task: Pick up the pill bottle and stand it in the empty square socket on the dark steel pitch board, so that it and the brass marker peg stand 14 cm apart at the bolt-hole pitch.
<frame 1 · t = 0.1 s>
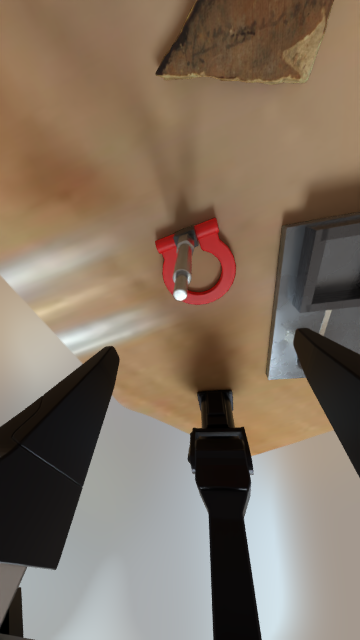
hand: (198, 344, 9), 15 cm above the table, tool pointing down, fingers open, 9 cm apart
tow hook: (197, 267, 22), on the table
pitch board: (320, 313, 24), on the table
shard: (253, 49, 13), on the table
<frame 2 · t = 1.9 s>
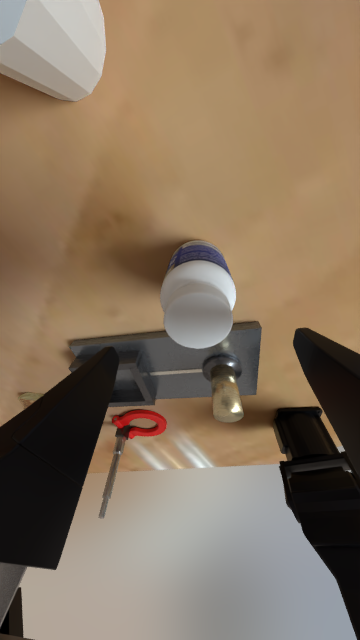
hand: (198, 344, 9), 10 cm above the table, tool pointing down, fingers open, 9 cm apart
tow hook: (142, 419, 36), on the table
pitch board: (169, 365, 26), on the table
shard: (58, 403, 35), on the table
shot glass: (58, 29, 11), on the table
pill bottle: (196, 268, 18), on the table
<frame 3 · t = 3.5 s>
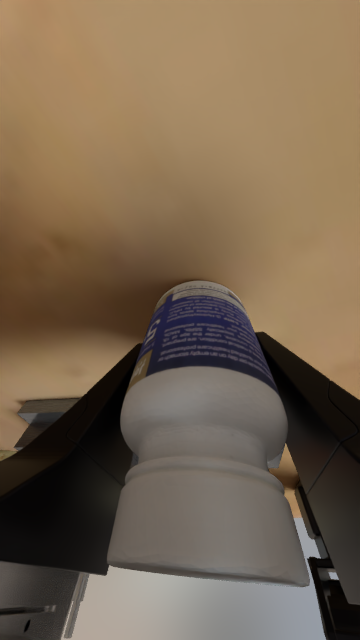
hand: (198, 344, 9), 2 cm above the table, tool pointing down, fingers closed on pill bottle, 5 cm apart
tow hook: (130, 475, 29), on the table
pitch board: (160, 430, 19), on the table
shard: (25, 456, 28), on the table
pill bottle: (198, 318, 11), on the table, touching gripper
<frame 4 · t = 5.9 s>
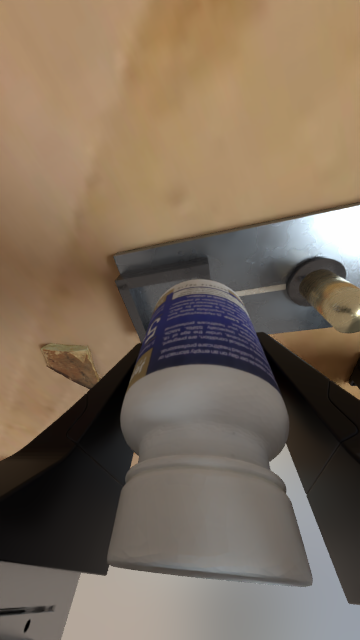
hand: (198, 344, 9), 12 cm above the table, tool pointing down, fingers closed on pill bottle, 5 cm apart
pitch board: (236, 288, 20), on the table
shard: (86, 360, 30), on the table
pill bottle: (198, 317, 11), point 10 cm above the table, touching gripper
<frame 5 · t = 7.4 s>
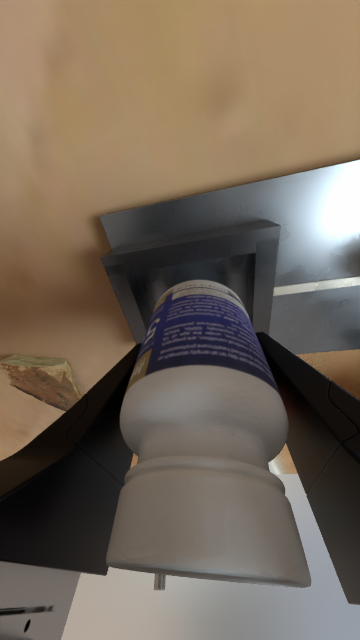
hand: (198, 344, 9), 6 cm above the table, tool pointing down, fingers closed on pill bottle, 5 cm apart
pitch board: (297, 279, 13), on the table
shard: (66, 377, 22), on the table
pill bottle: (197, 318, 11), point 3 cm above the table, touching gripper
when the fingers open (4 cm above the table, at t = 8.4 s): pill bottle drops 1 cm, resting on pitch board.
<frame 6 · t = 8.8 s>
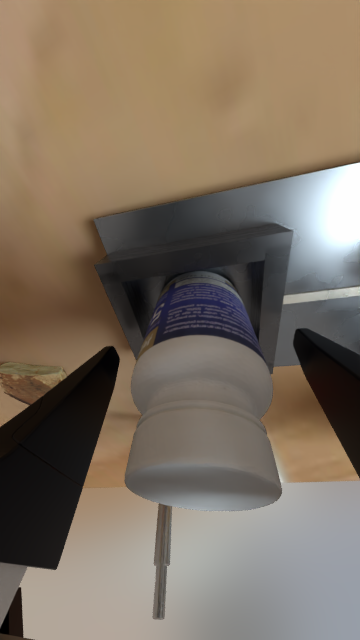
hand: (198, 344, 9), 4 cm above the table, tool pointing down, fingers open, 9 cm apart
tow hook: (201, 412, 22), on the table
pitch board: (306, 286, 12), on the table
shard: (63, 384, 21), on the table
pill bottle: (198, 307, 12), point 1 cm above the table, touching pitch board
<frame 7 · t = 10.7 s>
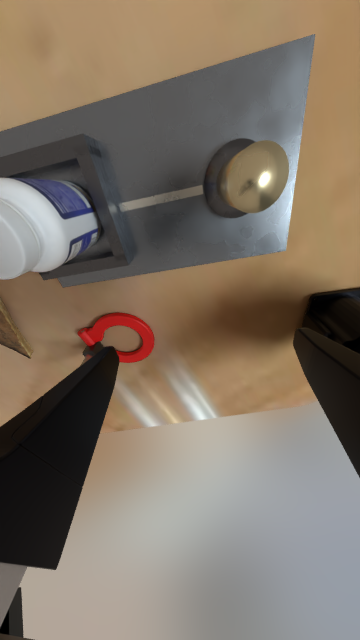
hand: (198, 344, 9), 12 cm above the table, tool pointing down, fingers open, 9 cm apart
tow hook: (122, 336, 26), on the table
pitch board: (150, 200, 16), on the table
shard: (4, 313, 25), on the table
pill bottle: (73, 217, 17), point 1 cm above the table, touching pitch board
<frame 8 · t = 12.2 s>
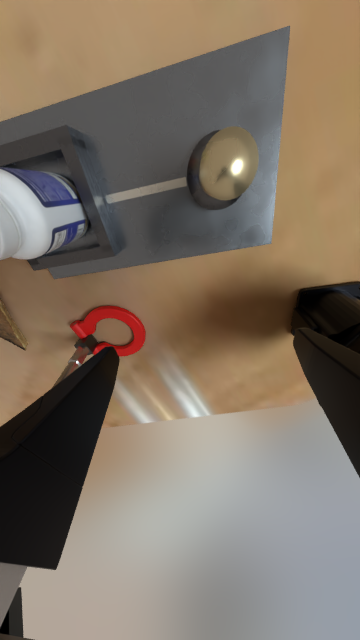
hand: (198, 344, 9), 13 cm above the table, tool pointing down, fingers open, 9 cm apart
tow hook: (114, 330, 27), on the table
pitch board: (137, 193, 17), on the table
shard: (0, 305, 26), on the table
pill bottle: (62, 209, 17), point 1 cm above the table, touching pitch board
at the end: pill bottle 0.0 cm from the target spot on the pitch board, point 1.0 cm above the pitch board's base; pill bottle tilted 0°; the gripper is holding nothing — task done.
